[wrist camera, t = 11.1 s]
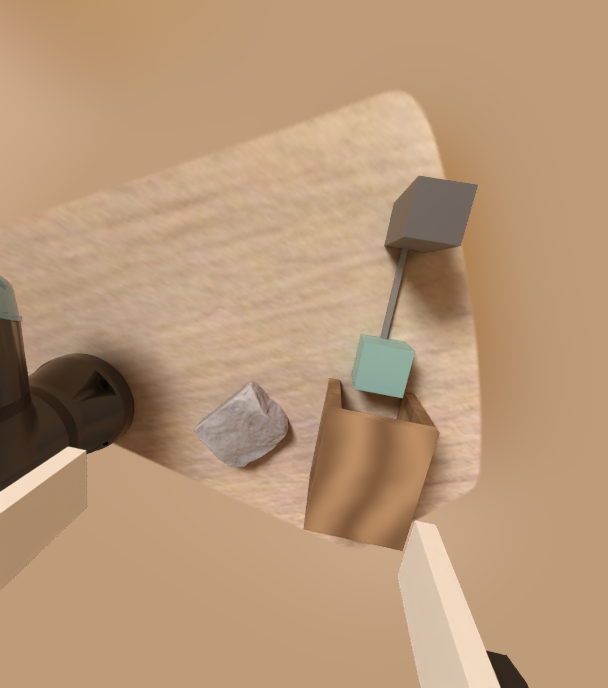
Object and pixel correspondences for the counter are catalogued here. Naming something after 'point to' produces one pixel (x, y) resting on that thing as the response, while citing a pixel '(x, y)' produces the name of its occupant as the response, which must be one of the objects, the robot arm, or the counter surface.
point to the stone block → (244, 427)
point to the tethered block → (407, 234)
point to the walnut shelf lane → (368, 471)
